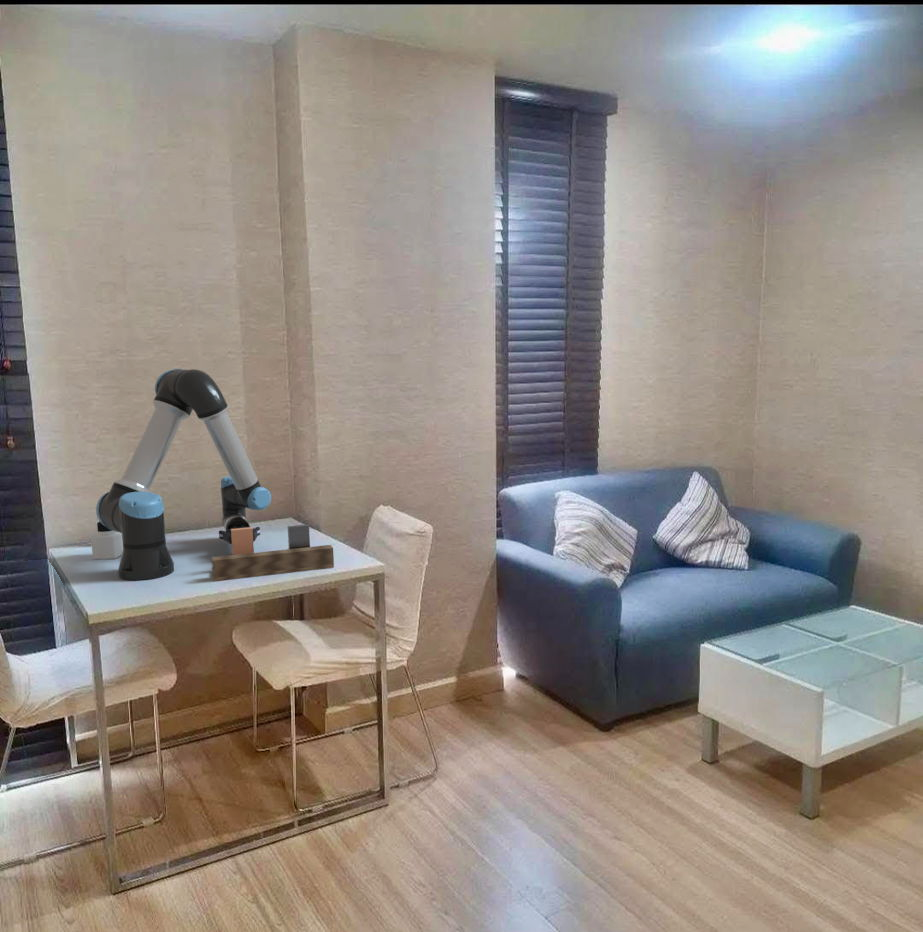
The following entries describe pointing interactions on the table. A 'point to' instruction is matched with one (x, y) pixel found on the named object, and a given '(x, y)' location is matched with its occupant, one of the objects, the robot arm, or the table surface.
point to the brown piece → (272, 562)
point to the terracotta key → (242, 541)
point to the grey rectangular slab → (298, 536)
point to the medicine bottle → (106, 543)
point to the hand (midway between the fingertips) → (244, 544)
